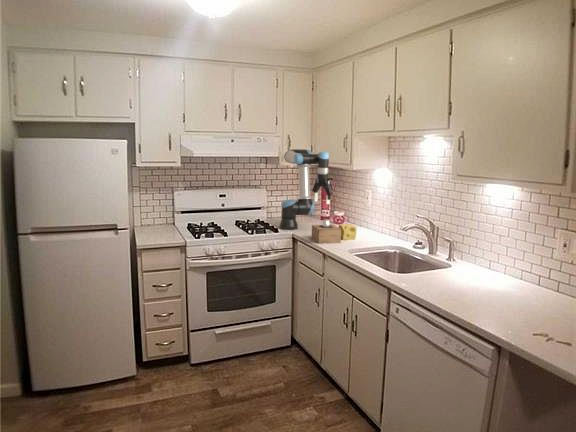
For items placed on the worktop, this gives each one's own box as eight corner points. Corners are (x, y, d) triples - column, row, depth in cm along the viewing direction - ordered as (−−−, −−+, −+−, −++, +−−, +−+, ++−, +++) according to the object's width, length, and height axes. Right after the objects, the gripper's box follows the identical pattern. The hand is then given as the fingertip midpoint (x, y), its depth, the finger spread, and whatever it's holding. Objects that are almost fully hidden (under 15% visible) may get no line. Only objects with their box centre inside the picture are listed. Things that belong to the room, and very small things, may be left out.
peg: (321, 231, 305) (322, 219, 304) (328, 231, 306) (328, 219, 305) (323, 233, 301) (324, 220, 299) (330, 232, 302) (330, 220, 300)
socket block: (311, 238, 311) (311, 224, 310) (332, 237, 315) (332, 223, 313) (318, 243, 294) (319, 229, 292) (340, 243, 298) (341, 228, 296)
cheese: (343, 240, 307) (343, 226, 305) (337, 237, 317) (337, 224, 315) (356, 239, 310) (356, 226, 308) (350, 236, 320) (350, 223, 318)
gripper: (308, 172, 312) (307, 200, 316) (330, 175, 292) (328, 205, 296) (316, 172, 317) (314, 200, 320) (338, 175, 297) (337, 204, 301)
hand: (321, 202), depth 308 cm, fingers open, 13 cm apart
